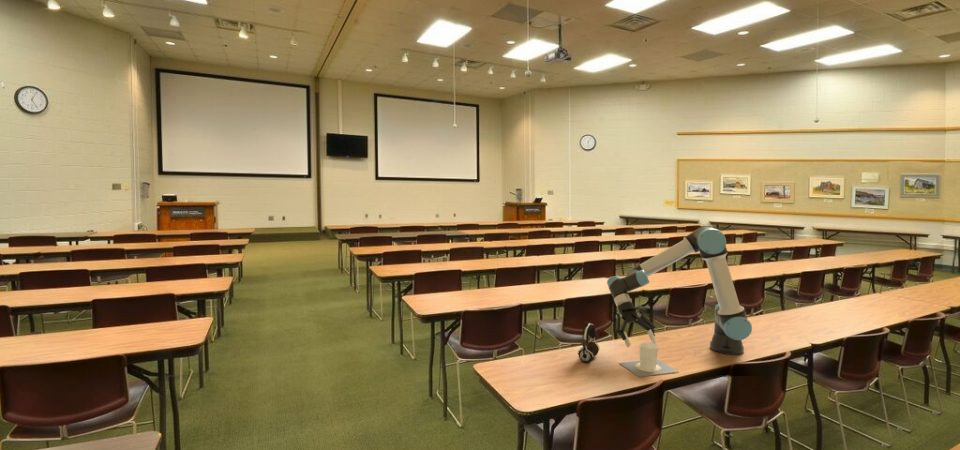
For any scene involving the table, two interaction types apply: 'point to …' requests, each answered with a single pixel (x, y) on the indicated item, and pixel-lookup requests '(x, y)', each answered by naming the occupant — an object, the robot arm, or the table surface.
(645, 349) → the white cup
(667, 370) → the card
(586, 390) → the table surface
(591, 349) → the headset
